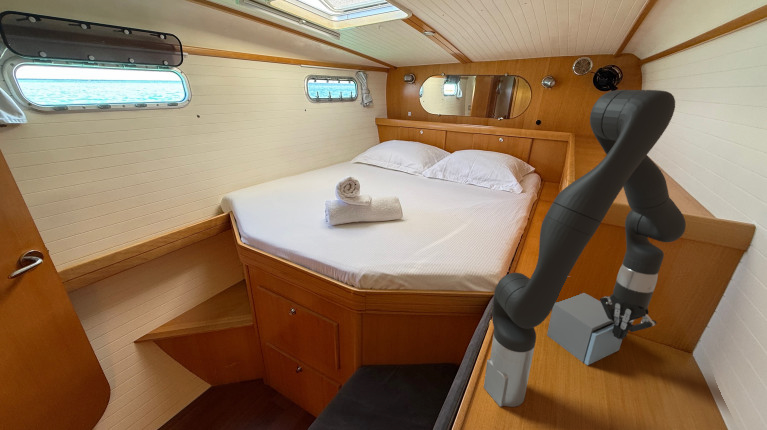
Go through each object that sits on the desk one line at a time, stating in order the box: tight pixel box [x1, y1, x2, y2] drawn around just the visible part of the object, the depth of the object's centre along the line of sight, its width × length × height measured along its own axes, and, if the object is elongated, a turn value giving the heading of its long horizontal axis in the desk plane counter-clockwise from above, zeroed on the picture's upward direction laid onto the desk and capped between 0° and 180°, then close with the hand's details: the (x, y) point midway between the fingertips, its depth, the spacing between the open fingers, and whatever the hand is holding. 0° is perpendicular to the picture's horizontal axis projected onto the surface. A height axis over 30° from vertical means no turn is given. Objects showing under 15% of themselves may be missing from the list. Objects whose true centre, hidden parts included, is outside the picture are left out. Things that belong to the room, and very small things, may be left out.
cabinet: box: [546, 292, 614, 363], centre depth 91 cm, size 14×12×12 cm
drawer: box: [583, 324, 623, 366], centre depth 90 cm, size 14×12×11 cm
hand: (618, 336), depth 82 cm, fingers closed
